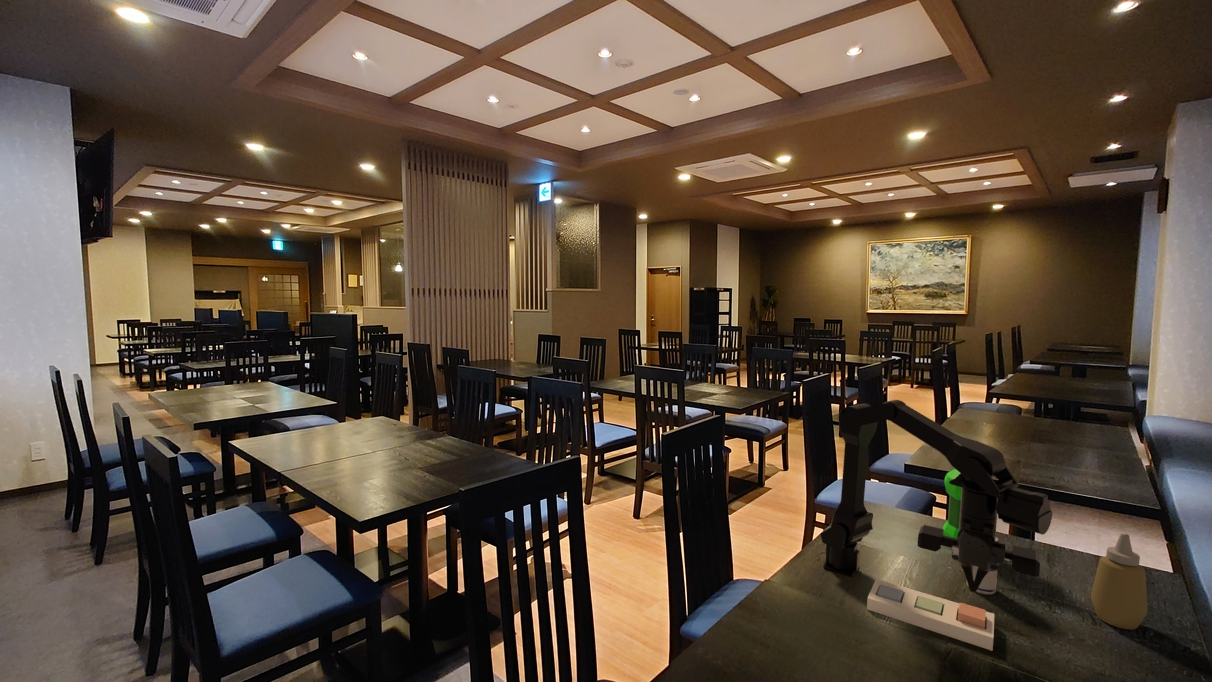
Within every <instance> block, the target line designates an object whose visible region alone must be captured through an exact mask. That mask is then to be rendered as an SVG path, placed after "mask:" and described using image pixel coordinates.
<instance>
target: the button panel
mask: <svg viewBox="0 0 1212 682" xmlns="http://www.w3.org/2000/svg"><path fill="white" fill-rule="evenodd" d="M881 584H882V585H885V586H888V587H892V588H895V589H898V590H902V591H903V600H902V603H899V602H896V601H893V600H890V599H886V598H883V597H880V596H877V593H878V591H879V588H880V586H881ZM919 596H922V597H925V598H928V599H932V600H935V601H938V602H942V603H943V607H942V616H941V615H938V614H934V613H931V612H928V611H925V610H922V609H918V608H916V604H917V600H918V597H919ZM959 604H960V602H959V603H958V602H955V601H951V600H949V599H945V598H942V597H938V596H935V595H932V594H930V593H925V592H922V591H918V590H915V589H912V588H908V587H905V586H902V585H898V584H895V583H892V582H888V581H884V580H881V579H878V578H876V579H875V580H874V582H873V585H872V587H871V589H870V591H869V593H868V596H867V602H866V610H868V611H871V612H874V613H877V614H880V615H883V616H886V617H889V618H892V619H895V620H898V621H901V622H904V623H906V624H910V625H913V626H916V627H920V628H922V629H925V630H929V631H931V632H934V633H937V634H940V635H943V636H947V637H949V638H952V639H955V640H957V641H958V640H959V641H961V642H963V643H964V642H965V643H968V644H970V645H974V646H977V647H979V648H983V649H986V650H989V651H991V652H992V651H993V650H994V648H993V647H994V633H995V632H994V631H995V613H993V612H988V611H986V614H985V629H982V628H979V627H976V626H973V625H969V624H966V623H963V622H960V621H958V611H959Z"/></svg>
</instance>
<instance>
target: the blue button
mask: <svg viewBox="0 0 1212 682" xmlns="http://www.w3.org/2000/svg"><path fill="white" fill-rule="evenodd" d="M877 596H880V597H883V598H886V599H890V600H893V601H896V602H899V603H902V600H903V591H902V590H898V589H895V588H892V587H888V586H885V585H882V584H881V586H880V588H879V591H878V593H877Z"/></svg>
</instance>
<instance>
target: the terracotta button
mask: <svg viewBox="0 0 1212 682" xmlns="http://www.w3.org/2000/svg"><path fill="white" fill-rule="evenodd" d="M986 612H987V611H986V609H983V608H980V607H977V606H974V605H969V604H966V603H964V602H959V611H958V621H960V622H963V623H966V624H969V625H973V626H976V627H979V628H982V629H985V614H986Z"/></svg>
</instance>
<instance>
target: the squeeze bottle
mask: <svg viewBox="0 0 1212 682" xmlns="http://www.w3.org/2000/svg"><path fill="white" fill-rule="evenodd" d="M1131 542H1132V541H1131V538H1130V535H1129V534H1128V533H1124V532H1122V533H1120V534H1119V536H1118V539H1117V541H1116V543H1115V546H1108V547H1107V548H1106V555H1105V556H1101V557H1100V558H1099V560H1098V564H1097V569H1096V573H1095V575H1094V576H1095V577H1094V580H1093V581H1094V582H1093V586H1092V589H1091V593H1090V599H1091V602H1092V604H1093V608H1094V610H1095V613H1096V616H1097V618H1099V619H1100V620H1102V622H1104V623H1107V624H1108V625H1111V626H1112V627H1116V628H1118V629H1122V630H1131V631H1132V630H1136V629H1137V628H1138V627H1139V626H1140V624H1141V623H1142V622H1143V620H1144V619H1145V617H1146V616H1147V613H1148V602H1147V601H1148V599H1147V598H1148V597H1147V596H1148V595H1147V577H1146V574H1147V573H1146V570H1145V569H1144V568H1143V566H1141V565H1140V561H1141V557H1140V555H1139V554H1138V553H1136V552H1135V551H1133V547H1132V543H1131Z"/></svg>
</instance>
